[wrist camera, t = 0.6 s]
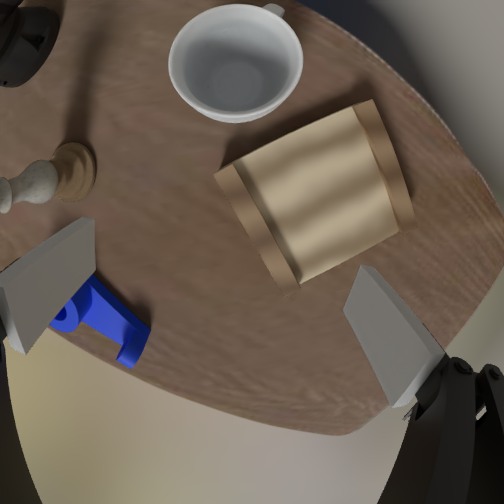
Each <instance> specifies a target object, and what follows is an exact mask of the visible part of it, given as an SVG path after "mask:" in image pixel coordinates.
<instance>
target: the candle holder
mask: <svg viewBox="0 0 504 504" xmlns="http://www.w3.org/2000/svg"><path fill="white" fill-rule="evenodd" d="M95 175H96V167H95V161H94V158H93V156H92V154H91V152H90V151H89V150H88V149H87V148H86V147H85V146H84V145H82V144H80V143H76V142H70V143H66V144H64V145H62V146H60V147H59V148H58V149H57V150H56V151H55V152H54V154H53V156H52V158H51V160H49V161H47V160H37V161H35V162H33V163H31V164H30V165H29V166H28V167H27V168H26V169H25V170H24V171H23V172H22V173H21V174H20V175H19V176H17V177H15V178H12V179H9V180H7V179H6V178H4V177H0V213H7V212H8V211H9V210H10V208H11V206H12V205H13V204H15V203H18V202H21V201H27V202H30V203H35V204H41V203H45V202H47V201H49V200H50V199H51V198H52V197H53V196H54V195H56V196H57V197H58V198H60V199H61V200H63V201H65V202H76V201H79V200H81V199H83V198H84V197H85V196H86V195H87V194H88V193H89V192H90V190H91V189H92V186H93V184H94V181H95Z"/></svg>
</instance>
